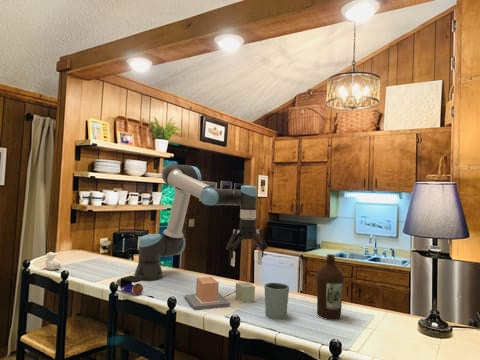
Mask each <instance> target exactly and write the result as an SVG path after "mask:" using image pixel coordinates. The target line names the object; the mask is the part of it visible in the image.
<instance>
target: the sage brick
mask: <svg viewBox="0 0 480 360" xmlns="http://www.w3.org/2000/svg"><path fill="white" fill-rule="evenodd" d="M255 291H256V286H255V285H253V284H252V283H250V282H249V281H241V282H235V294H234V295H235V296H234V297H235V299H237V301H239V302H240V303H241V304H244V303H245V304H246V303H254V302H255V293H256V292H255Z"/></svg>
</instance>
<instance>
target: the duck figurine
mask: <svg viewBox="0 0 480 360" xmlns="http://www.w3.org/2000/svg"><path fill="white" fill-rule="evenodd" d="M45 255H46V258H47V259H46V261H45V267H46V269H47V270H49V271H54V270H55V269H60V270H61V268H62V264H61V261H59V260H58V259H57V258H56V257H57V254H56V253H54V252H52V251H49V252H47V253H46V254H45ZM55 271H56V270H55Z"/></svg>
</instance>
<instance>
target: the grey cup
mask: <svg viewBox="0 0 480 360" xmlns="http://www.w3.org/2000/svg"><path fill="white" fill-rule="evenodd" d="M289 294H290V286H289V285H288V284H285V283H282V282H267V283H265V284H264V303H265V310H264V312H265V317H267V318H268V317H269V319H271V318H274V319H273V320H278V319H279V320H284V319H286V318H287V315H288V302H289ZM285 317H286V318H285ZM283 318H284V319H283Z"/></svg>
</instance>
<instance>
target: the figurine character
mask: <svg viewBox="0 0 480 360" xmlns="http://www.w3.org/2000/svg"><path fill="white" fill-rule="evenodd" d="M144 280H146V279H144V278H140V277H136V276H134V275H128V276H124V277H123V276H122V277H120V278H119V279H117V280H116V284H117V283H118V286H119V289H121V290H122V292H131V293H132V294H134V295H135V296H139V295H141V294H142V293H143V291H144V286H143V285H142V284H141V283H140V282H144ZM133 283H134V284H133ZM118 286H117V287H118ZM121 290H120V291H121Z"/></svg>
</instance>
